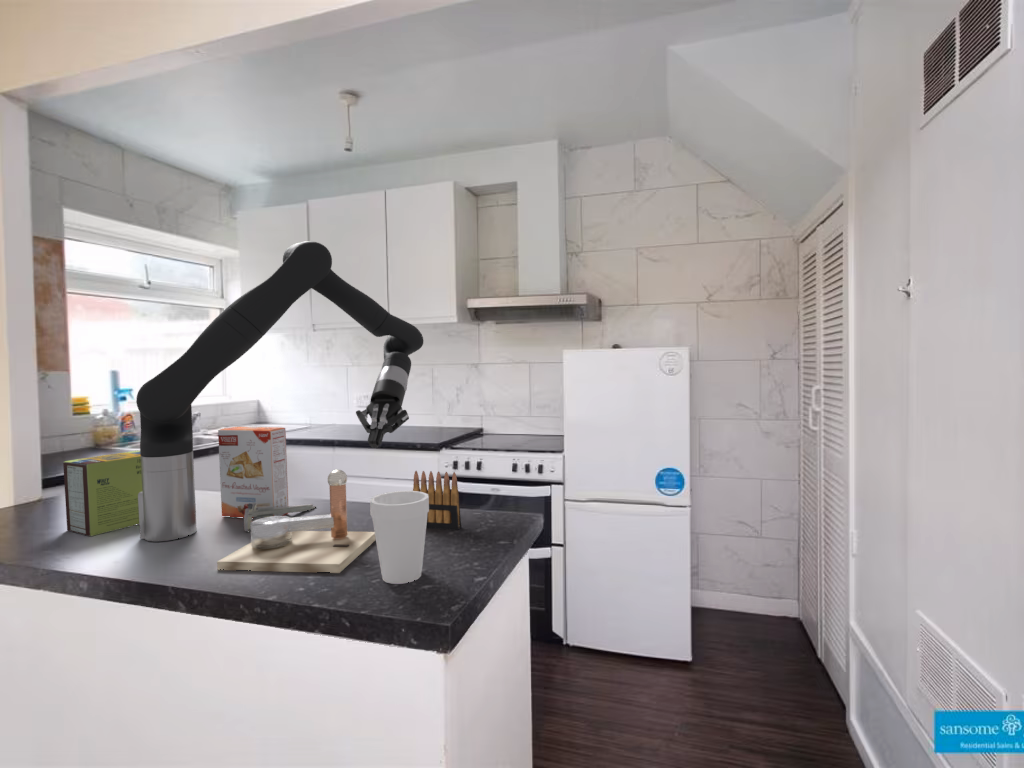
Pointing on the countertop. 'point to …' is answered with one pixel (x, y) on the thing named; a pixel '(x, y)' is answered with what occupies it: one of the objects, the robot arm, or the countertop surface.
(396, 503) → the foam cup
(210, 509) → the countertop surface
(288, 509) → the caliper
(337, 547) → the stand plate
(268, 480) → the cracker box
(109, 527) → the protein box
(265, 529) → the lever
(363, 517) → the countertop surface
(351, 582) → the countertop surface
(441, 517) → the ammunition clip
